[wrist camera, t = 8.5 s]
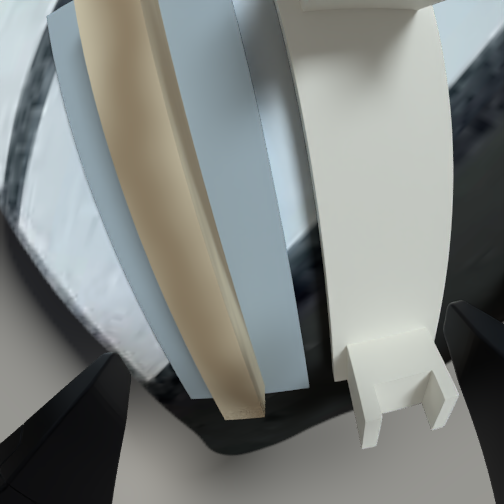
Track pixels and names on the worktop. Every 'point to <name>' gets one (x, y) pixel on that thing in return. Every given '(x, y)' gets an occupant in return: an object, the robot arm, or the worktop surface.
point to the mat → (215, 178)
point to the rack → (378, 193)
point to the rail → (168, 193)
